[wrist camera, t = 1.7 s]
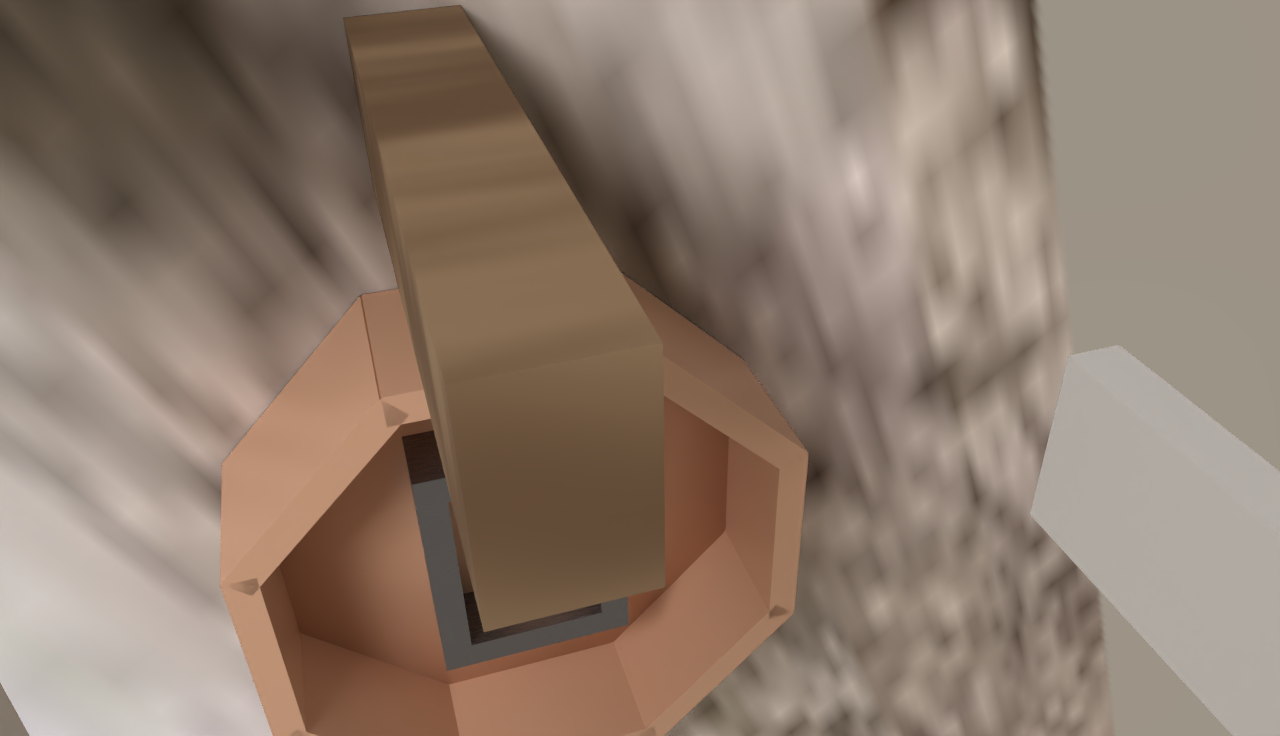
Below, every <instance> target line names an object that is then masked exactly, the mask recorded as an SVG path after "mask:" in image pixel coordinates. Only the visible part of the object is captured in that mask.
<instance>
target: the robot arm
mask: <svg viewBox="0 0 1280 736" xmlns="http://www.w3.org/2000/svg"><path fill="white" fill-rule="evenodd" d="M1030 515H1031V516H1032V517H1033V518H1034V519H1035V520H1036V522H1037V523H1038V524H1039V525H1040V526H1041V527H1042V528H1043V529H1044V530H1045V531H1046V532H1047V534H1048V535H1049V536H1050V537H1051V538H1052V539H1053V540H1054V541H1055V542H1056V543H1057V545H1058V546H1059V547H1060V548H1061V549H1062V550H1063V551H1064V552H1065V553H1066V554H1067V555H1068V557H1069V558H1070V559H1071V560H1072V561H1073V562H1074V563H1075V564H1076V565H1077V566H1078V567H1079V569H1080V570H1081V571H1082V572H1083V573H1084V574H1085V575H1086V576H1087V577H1088V578H1089V579H1090V581H1091V582H1092V583H1093V584H1094V585H1095V586H1096V587H1097V588H1098V589H1099V590H1100V591H1101V593H1102V594H1103V595H1104V596H1105V597H1106V598H1107V599H1108V600H1109V601H1110V602H1111V603H1112V604H1113V606H1114V607H1115V608H1116V609H1117V610H1118V611H1119V612H1120V613H1121V614H1122V615H1123V617H1124V618H1125V619H1126V620H1127V621H1128V622H1129V623H1130V624H1131V625H1132V626H1133V628H1134V629H1135V630H1136V631H1137V632H1138V633H1139V634H1140V635H1141V636H1142V637H1143V638H1144V640H1146V642H1147V643H1148V644H1149V645H1150V646H1151V647H1152V648H1153V649H1154V650H1155V652H1156V653H1157V654H1158V655H1159V656H1160V657H1161V658H1162V659H1163V660H1164V661H1165V662H1166V663H1167V664H1168V666H1169V667H1170V668H1171V669H1172V670H1173V671H1174V672H1175V673H1176V674H1177V676H1178V677H1179V678H1180V679H1181V680H1182V681H1183V682H1184V683H1185V684H1186V685H1187V686H1188V688H1190V690H1191V691H1192V692H1193V693H1194V694H1195V695H1196V696H1197V697H1198V698H1199V700H1200V701H1201V702H1202V703H1203V704H1204V705H1205V706H1206V707H1207V708H1208V709H1209V710H1210V712H1212V714H1213V715H1214V716H1215V717H1216V718H1217V719H1218V720H1219V721H1220V723H1221V724H1222V725H1223V726H1224V727H1225V728H1226V729H1227V730H1228V731H1229V732H1230V733H1231V735H1232V736H1280V471H1279V470H1277V469H1276V468H1275V467H1273V466H1272V465H1271V464H1270V463H1268V462H1267V461H1266V460H1265V459H1263V458H1262V457H1261V456H1260V455H1258V454H1257V453H1256V452H1254V451H1253V450H1252V449H1251V448H1249V447H1248V446H1247V445H1246V444H1244V443H1243V442H1242V441H1241V440H1239V439H1238V438H1237V437H1235V436H1234V435H1233V434H1232V433H1230V432H1229V431H1228V430H1226V429H1225V428H1224V427H1223V426H1221V425H1220V424H1219V423H1218V422H1216V421H1215V420H1214V419H1213V418H1211V417H1210V416H1209V415H1207V414H1206V413H1205V412H1204V411H1202V410H1201V409H1200V408H1198V407H1197V406H1196V405H1195V404H1194V403H1192V402H1191V401H1190V400H1188V399H1187V398H1186V397H1185V396H1183V395H1182V394H1181V393H1179V392H1178V391H1177V390H1176V389H1174V388H1173V387H1172V386H1171V385H1169V384H1168V383H1167V382H1166V381H1164V380H1163V379H1162V378H1160V377H1159V376H1158V375H1157V374H1155V373H1154V372H1153V371H1152V370H1150V369H1149V368H1148V367H1147V366H1145V365H1144V364H1143V363H1141V362H1140V361H1139V360H1138V359H1136V358H1135V357H1134V356H1133V355H1131V354H1130V353H1129V352H1127V351H1126V350H1125V349H1124V348H1122V347H1121V346H1120V345H1116V346H1112V347H1107V348H1102V349H1097V350H1093V351H1088V352H1084V353H1079V354H1074V355H1069V357H1068V361H1067V365H1066V369H1065V373H1064V378H1063V382H1062V386H1061V390H1060V394H1059V398H1058V402H1057V406H1056V410H1055V414H1054V418H1053V423H1052V427H1051V431H1050V435H1049V439H1048V443H1047V447H1046V451H1045V455H1044V459H1043V464H1042V468H1041V472H1040V476H1039V480H1038V484H1037V488H1036V492H1035V496H1034V500H1033V504H1032V509H1031V513H1030ZM0 736H29V734H28V732H27V730H26V729H25V727H24V725H23V723H22V721H21V720H20V718H19V716H18V714H17V712H16V711H15V709H14V707H13V705H12V703H11V702H10V700H9V698H8V696H7V694H6V692H5V691H4V689H3V687H2V685H1V683H0Z"/></svg>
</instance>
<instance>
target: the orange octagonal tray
mask: <svg viewBox="0 0 1280 736" xmlns="http://www.w3.org/2000/svg"><path fill="white" fill-rule="evenodd" d="M621 274H622V273H621ZM622 275H623V277H624V279H625V280H626V282H627V284H628V285H629V287H630V289H631V290H632V292H633V294H634V295H635V297H636V299H637V300H638V302H639V304H640V305H641V307H642V309H643V310H644V312H645V314H646V315H647V317H648V319H649V320H650V322H651V324H652V325H653V327H654V329H655V330H656V332H657V334H658V335H659V337H660V339H661V340H662V342H663V386H664V500H665V587H664V588H660V589H656V590H652V591H648V592H644V593H640V594H636V595H632V596H628V613H629V625H626V626H622V627H618V628H614V629H610V630H606V631H602V632H598V633H594V634H591V635H587V636H583V637H579V638H575V639H571V640H567V641H563V642H559V643H555V644H551V645H547V646H543V647H540V648H536V649H532V650H528V651H524V652H520V653H516V654H512V655H508V656H504V657H500V658H496V659H493V660H489V661H485V662H481V663H477V664H473V665H469V666H465V667H461V668H457V669H453V670H449V671H447V669H446V664H445V659H444V654H443V649H442V644H441V639H440V634H439V629H438V624H437V620H436V614H435V609H434V604H433V599H432V593H431V588H430V583H429V578H428V572H427V567H426V562H425V557H424V551H423V546H422V541H421V536H420V531H419V525H418V520H417V515H416V510H415V504H414V499H413V494H412V489H411V483H410V478H409V473H408V468H407V462H406V457H405V452H404V447H403V442H402V436H407V435H412V434H417V433H422V432H427V431H432V430H434V429H433V425H432V421H431V417H430V413H429V409H428V405H427V401H426V397H425V393H424V389H423V385H422V381H421V377H420V373H419V369H418V365H417V361H416V357H415V353H414V349H413V345H412V341H411V337H410V333H409V329H408V325H407V320H406V316H405V312H404V308H403V304H402V300H401V296H400V292H399V289H393V290H387V291H381V292H375V293H369V294H363V295H362V297H361V296H359V297H358V298H357V300H356V301H355V302H354V303H353V305H352V306H351V307H350V308H349V309H348V311H347V312H346V313H345V314H344V316H343V317H342V318H341V319H340V320H339V322H338V323H337V324H336V325H335V327H334V328H333V329H332V330H331V331H330V333H329V334H328V335H327V336H326V337H325V339H324V340H323V341H322V342H321V344H320V345H319V346H318V347H317V348H316V350H315V351H314V352H313V353H312V355H311V356H310V357H309V358H308V359H307V361H306V362H305V363H304V364H303V366H302V367H301V368H300V369H299V370H298V372H297V373H296V374H295V375H294V377H293V378H292V379H291V380H290V381H289V383H288V384H287V385H286V386H285V387H284V389H283V390H282V391H281V392H280V394H279V395H278V396H277V397H276V398H275V400H274V401H273V402H272V403H271V405H270V406H269V407H268V408H267V409H266V411H265V412H264V413H263V414H262V416H261V417H260V418H259V419H258V420H257V422H256V423H255V424H254V425H253V426H252V428H251V429H250V430H249V431H248V433H247V434H246V435H245V436H244V437H243V439H242V440H241V441H240V442H239V444H238V445H237V446H236V447H235V448H234V450H233V451H232V452H231V453H230V455H229V456H228V457H227V458H226V459H225V461H224V462H223V463H222V503H221V564H220V587H221V590H222V593H223V596H224V599H225V601H226V604H227V607H228V610H229V613H230V616H231V618H232V621H233V624H234V627H235V630H236V633H237V635H238V638H239V641H240V644H241V647H242V649H243V652H244V655H245V658H246V661H247V664H248V666H249V669H250V672H251V675H252V678H253V681H254V683H255V686H256V689H257V692H258V695H259V698H260V700H261V703H262V706H263V709H264V712H265V715H266V717H267V720H268V723H269V726H270V729H271V732H272V734H273V736H664V735H665V734H666V733H667V732H668V731H669V730H670V729H671V728H672V727H674V726H675V725H676V724H677V723H678V722H679V721H680V720H681V719H682V718H683V717H684V716H685V715H686V714H687V713H688V712H689V711H690V710H692V709H693V708H694V707H695V706H696V705H697V704H698V703H699V702H700V701H701V700H702V699H703V698H704V697H705V696H706V695H707V694H709V693H710V692H711V691H712V690H713V689H714V688H715V687H716V686H717V685H718V684H719V683H720V682H721V681H722V680H723V679H724V678H726V677H727V676H728V675H729V674H730V673H731V672H732V671H733V670H734V669H735V668H736V667H737V666H738V665H739V664H740V663H741V662H742V661H744V660H745V659H746V658H747V657H748V656H749V655H750V654H751V653H752V652H753V651H754V650H755V649H756V648H757V647H758V646H759V645H761V644H762V643H763V642H764V641H765V640H766V639H767V638H768V637H769V636H770V635H771V634H772V633H773V632H774V631H775V630H776V629H777V628H779V627H780V626H781V625H782V624H783V623H784V622H785V621H786V620H787V619H788V618H789V617H790V616H791V615H792V614H793V612H794V608H795V597H796V586H797V575H798V564H799V554H800V543H801V532H802V521H803V510H804V499H805V489H806V478H807V467H808V456H809V453H808V452H807V450H806V449H805V447H804V446H803V444H802V443H801V442H800V440H799V439H798V437H797V436H796V434H795V433H794V432H793V430H792V429H791V427H790V426H789V424H788V423H787V421H786V420H785V419H784V417H783V416H782V414H781V413H780V411H779V410H778V409H777V407H776V406H775V404H774V403H773V401H772V400H771V399H770V397H769V396H768V394H767V393H766V391H765V390H764V389H763V387H762V386H761V384H760V383H759V381H758V380H757V379H756V377H755V376H754V374H753V373H752V371H751V370H750V368H749V367H748V366H747V364H746V363H745V361H744V360H743V359H742V358H740V357H739V356H738V355H736V354H735V353H733V352H732V351H731V350H729V349H728V348H726V347H725V346H724V345H722V344H721V343H719V342H718V341H717V340H715V339H714V338H712V337H711V336H710V335H708V334H707V333H705V332H704V331H703V330H701V329H700V328H698V327H697V326H695V325H694V324H693V323H691V322H690V321H688V320H687V319H686V318H684V317H683V316H681V315H680V314H679V313H677V312H676V311H674V310H673V309H672V308H670V307H669V306H667V305H666V304H665V303H663V302H662V301H660V300H659V299H658V298H656V297H655V296H653V295H652V294H650V293H649V292H648V291H646V290H645V289H643V288H642V287H641V286H639V285H638V284H636V283H635V282H634V281H632V280H631V279H629V278H628V277H627V276H625V275H624V274H622ZM448 505H449V511H450V517H451V523H452V529H453V535H454V541H455V547H456V553H457V559H458V565H459V571H460V577H461V583H462V589H463V594H465V593H469V592H473V587H472V583H471V579H470V575H469V571H468V567H467V562H466V558H465V554H464V550H463V546H462V542H461V538H460V534H459V530H458V526H457V522H456V518H455V514H454V510H453V506H452V502H448Z"/></svg>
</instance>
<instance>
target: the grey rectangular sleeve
mask: <svg viewBox="0 0 1280 736" xmlns="http://www.w3.org/2000/svg"><path fill="white" fill-rule="evenodd" d="M402 442H403V447H404V452H405V457H406V462H407V468H408V473H409V478H410V483H411V489H412V494H413V499H414V504H415V510H416V515H417V520H418V525H419V531H420V536H421V541H422V546H423V551H424V557H425V562H426V567H427V572H428V578H429V583H430V588H431V593H432V599H433V604H434V609H435V614H436V620H437V624H438V629H439V634H440V639H441V644H442V649H443V654H444V659H445V664H446V669H447V671H449V670H453V669H457V668H461V667H465V666H469V665H473V664H477V663H481V662H485V661H489V660H493V659H496V658H500V657H504V656H508V655H512V654H516V653H520V652H524V651H528V650H532V649H536V648H540V647H543V646H547V645H551V644H555V643H559V642H563V641H567V640H571V639H575V638H579V637H583V636H587V635H591V634H594V633H598V632H602V631H606V630H610V629H614V628H618V627H622V626H626V625H629V613H628V597H624V598H620V599H616V600H612V601H608V602H604V603H600V604H595V605H591V606H587V607H583V608H579V609H575V610H571V611H567V612H563V613H559V614H555V615H551V616H547V617H543V618H539V619H535V620H531V621H527V622H523V623H519V624H515V625H511V626H507V627H503V628H499V629H495V630H491V631H487V632H484V631H483V627H482V623H481V619H480V615H479V611H478V607H477V603H476V599H475V595H474V591H473V592H469V593H465V594H463V589H462V583H461V577H460V571H459V565H458V559H457V553H456V547H455V541H454V535H453V529H452V523H451V517H450V511H449V505H448V502H451V498H450V494H449V490H448V486H447V482H446V478H445V474H444V470H443V466H442V462H441V458H440V454H439V450H438V446H437V441H436V437H435V433H434V430H432V431H427V432H422V433H417V434H412V435H407V436H402Z"/></svg>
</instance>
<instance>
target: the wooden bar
mask: <svg viewBox="0 0 1280 736" xmlns="http://www.w3.org/2000/svg"><path fill="white" fill-rule="evenodd" d="M343 19H344V25H345V30H346V36H347V41H348V47H349V53H350V58H351V64H352V69H353V75H354V80H355V86H356V92H357V97H358V103H359V108H360V114H361V119H362V125H363V131H364V136H365V142H366V147H367V153H368V159H369V164H370V170H371V175H372V181H373V186H374V191H375V195H376V199H377V204H378V208H379V212H380V216H381V220H382V224H383V228H384V232H385V236H386V240H387V244H388V248H389V252H390V256H391V260H392V264H393V268H394V272H395V276H396V280H397V284H398V288H399V292H400V296H401V300H402V304H403V308H404V312H405V316H406V320H407V325H408V329H409V333H410V337H411V341H412V345H413V349H414V353H415V357H416V361H417V365H418V369H419V373H420V377H421V381H422V385H423V389H424V393H425V397H426V401H427V405H428V409H429V413H430V417H431V421H432V425H433V429H434V433H435V437H436V441H437V446H438V450H439V454H440V458H441V462H442V466H443V470H444V474H445V478H446V482H447V486H448V490H449V494H450V498H451V502H452V506H453V510H454V514H455V518H456V522H457V526H458V530H459V534H460V538H461V542H462V546H463V550H464V554H465V558H466V562H467V567H468V571H469V575H470V579H471V583H472V587H473V591H474V595H475V599H476V603H477V607H478V611H479V615H480V619H481V623H482V627H483V631H484V632H487V631H491V630H495V629H499V628H503V627H507V626H511V625H515V624H519V623H523V622H527V621H531V620H535V619H539V618H543V617H547V616H551V615H555V614H559V613H563V612H567V611H571V610H575V609H579V608H583V607H587V606H591V605H595V604H600V603H604V602H608V601H612V600H616V599H620V598H624V597H628V596H632V595H636V594H640V593H644V592H648V591H652V590H656V589H660V588H664V587H665V500H664V386H663V342H662V340H661V339H660V337H659V335H658V334H657V332H656V330H655V329H654V327H653V325H652V324H651V322H650V320H649V319H648V317H647V315H646V314H645V312H644V310H643V309H642V307H641V305H640V304H639V302H638V300H637V299H636V297H635V295H634V294H633V292H632V290H631V289H630V287H629V285H628V284H627V282H626V280H625V279H624V277H623V275H622V274H621V272H620V270H619V269H618V267H617V265H616V264H615V262H614V260H613V259H612V257H611V255H610V254H609V252H608V250H607V249H606V247H605V245H604V244H603V242H602V240H601V239H600V237H599V235H598V234H597V232H596V230H595V229H594V227H593V225H592V224H591V222H590V220H589V219H588V217H587V215H586V214H585V212H584V210H583V209H582V207H581V205H580V204H579V202H578V200H577V199H576V197H575V195H574V194H573V192H572V190H571V189H570V187H569V185H568V184H567V182H566V180H565V179H564V177H563V175H562V174H561V172H560V170H559V169H558V167H557V165H556V164H555V162H554V160H553V159H552V157H551V155H550V154H549V152H548V150H547V149H546V147H545V145H544V144H543V142H542V140H541V139H540V137H539V135H538V134H537V132H536V130H535V129H534V127H533V125H532V124H531V122H530V121H529V119H528V117H527V116H526V114H525V112H524V111H523V109H522V107H521V106H520V104H519V102H518V101H517V99H516V97H515V96H514V94H513V92H512V91H511V89H510V87H509V86H508V84H507V82H506V81H505V79H504V77H503V76H502V74H501V72H500V71H499V69H498V67H497V66H496V64H495V62H494V61H493V59H492V57H491V56H490V54H489V52H488V51H487V49H486V47H485V46H484V44H483V42H482V41H481V39H480V37H479V36H478V34H477V32H476V31H475V29H474V27H473V26H472V24H471V22H470V21H469V19H468V17H467V16H466V14H465V12H464V11H463V9H462V7H461V6H460V5H457V6H448V7H439V8H429V9H420V10H411V11H402V12H392V13H383V14H374V15H365V16H355V17H346V18H343Z"/></svg>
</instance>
